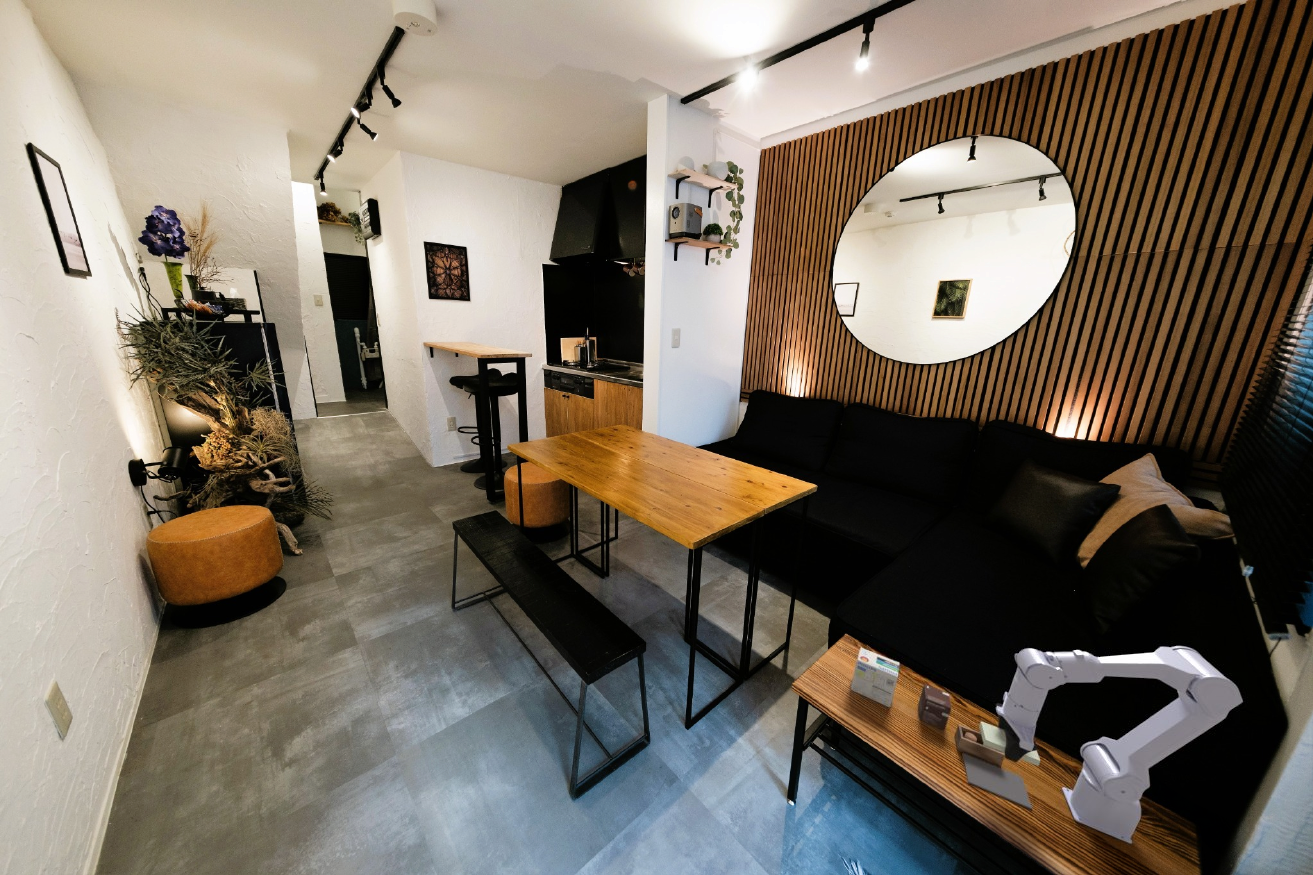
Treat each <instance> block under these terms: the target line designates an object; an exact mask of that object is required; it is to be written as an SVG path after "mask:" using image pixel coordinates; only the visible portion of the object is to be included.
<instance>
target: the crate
mask: <svg viewBox="0 0 1313 875" xmlns="http://www.w3.org/2000/svg"><path fill="white" fill-rule="evenodd" d="M954 733H955V734H954V740H955V741H954V742H955V744H956V750H957V751H958V752H961V753H962V754H963V753H964V754H967V755H969V756H972V757H974V758H977V759H979V760H982V761H984V762H986V763H989V764H991V765H994V766H996V767H999V768H1001V769H1002V766H1003V763H1004V760H1005V753H1004V752H1001V751H999V750H996V749H993V748H991V747H988V746H986V745H984V743H983V739H982V735H981V731H977V730H975V729H972V728H969V727H967V726H964V725H962V724H957V726H956V730H955V732H954Z"/></svg>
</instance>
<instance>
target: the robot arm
mask: <svg viewBox="0 0 1313 875" xmlns="http://www.w3.org/2000/svg"><path fill="white" fill-rule="evenodd" d="M1014 660H1015V662H1016V664H1017V668H1016V672H1015V674H1014V677H1013V679H1012V681H1011V682H1012V683H1011V685H1010V689H1009V691H1008V692H1007V691H1005V692H1004V694H1003V698H1002V700H1003V704H1002V703H999V702H998V703H996V704H995V706H996V707H995V710H996V713H997V716H998V721H997V722H998V725H997V727H998V728H1000V729H1003V730H1004V732H1005V736H1006V746H1005V757H1004V759H1006V760H1008V761H1012V762H1014V763H1017V762H1019V760H1021V758H1022V757H1023V756H1024V755H1025V754H1027V753H1029V752H1032V751H1038V750H1037V749H1038V744H1037V742H1036V741H1034V738H1035V732H1036V727H1037V721H1038V718H1039V717H1040V714H1041V711H1042V708H1043V706H1044V703H1045V700H1046V698H1047V695H1048V692H1049V690H1053V689H1055V688H1057V687H1059V686H1060V685H1061V686H1062V685H1064V684H1066V683H1099V682H1101V681H1102V680H1103V679H1104V678H1105V677H1121V678H1122V677H1123V678H1141V679H1143V678H1144V679H1156V680H1159V681H1161V682H1163V683H1165V684H1166V685H1168V686H1170V687H1171V688H1173V689H1175V690H1177V693H1178V698H1176V699H1174V700H1173V701H1172V702H1170V703H1169V704H1168V705H1166V706H1164V707H1163V708H1162V709H1160V710H1159V711H1158V712H1156V713H1154V714H1153V715H1151V716H1150V717H1149V718H1148V719H1146V720H1145V721H1143V722H1142V723H1140V724H1139V725H1137V726H1136V727H1135V728H1133V729H1132V730H1130V731H1129V732H1128V733H1125V735H1123V736H1122V737H1120V738H1119V739H1117V740H1116V739H1112V738H1109V737H1106V736H1102V737H1100V738H1099V739H1097V740H1093V741H1088V742H1086V743H1084V744H1082V746H1081V747H1080V751H1079V752H1080V756H1081V757H1082V758H1083V763H1082V768H1081V772H1080V773H1079V776H1078V778H1077V780H1076V783H1075V784H1074V787H1073V789H1070V788H1067V787H1064V786H1063V787H1062V788H1061V790H1062V794H1063V795H1064V797H1065V800H1066V803H1067V805H1068V807H1069V810H1070V812H1071V815H1072V817H1073V819H1074V820H1075V821H1076V822H1077V823H1080V824H1082V825H1085V826H1087V827H1090V828H1092V829H1095V830H1097V831H1099V832H1101V833H1104V834H1106V835H1109V836H1111V837H1114V838H1116V839H1119V840H1121V841H1122V842H1123V841H1124V842H1126V843H1128V844H1132V843H1133V840H1132V839H1131V838H1132V836H1133V834H1134V832H1135V830H1136V829H1137V826H1138V824H1139V823H1140V819H1141V816H1142V807H1141V803H1140V800H1141V798H1142V796H1143V793H1144V792H1145V791H1146V790H1147V789H1149V788H1150V786H1151V783H1150V774H1149V769H1150V768H1152V767H1153V766H1154V765H1156V764H1158V763H1159V762H1160V761H1162V760H1164V759H1165V758H1166V757H1168V756H1169V755H1171V754H1173V753H1174V752H1176V751H1177V750H1179V749H1181V748H1182V747H1184V746H1185V745H1186V744H1188V743H1190V742H1192V741H1193V740H1194V739H1196V738H1197V737H1199V736H1200V735H1202V734H1204V733H1205V732H1207V731H1208V730H1209V729H1211V728H1213V727H1214V726H1215V725H1217V724H1219V723H1220V722H1221V723H1222V721H1223V720H1224V719H1226V718H1227V716H1228V714H1229V712H1230V711H1231V710H1232V709H1234V708H1235V707H1238V706H1239V705H1241V704H1242V703H1243V702H1244V701H1243V698H1242V695H1241V692H1240V690H1239V688H1238V686H1237V685H1236V684H1235V683H1234V682H1233V681H1232V680H1230V679H1229V678H1227V677H1226V676H1224V674H1223V673H1221V672H1220V671H1219V670H1218V669H1217V668H1215V667H1214V666H1213V665H1212V664H1211V663H1210V662H1208V661H1207V660H1206V659H1205V658H1204V657H1203V656H1202V655H1201V654H1200V653H1199V652H1198V651H1197V650H1195V649H1194V648H1191V647H1188V646H1184V645H1183V646H1182V645H1176V646H1171V647H1169V646H1159V647H1158V648H1157V649H1155V651H1154V652H1144V653H1133V654H1121V655H1119V654H1118V655H1110V656H1109V655H1108V656H1100V657H1099V656H1094V655H1093V654H1092V653H1089V652H1087V651H1082V650H1080V649H1076V650H1072V651H1054V652H1052V651H1046V652H1043V651H1041V650H1038V649H1037V648H1036V649H1035V648H1029V647H1028V648H1024V649H1021V650H1020V651H1019V653H1015V654H1014Z"/></svg>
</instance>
